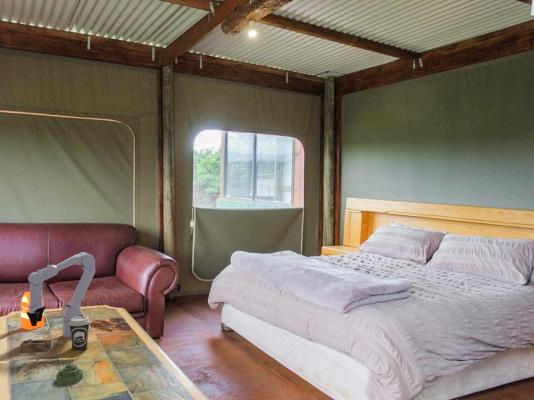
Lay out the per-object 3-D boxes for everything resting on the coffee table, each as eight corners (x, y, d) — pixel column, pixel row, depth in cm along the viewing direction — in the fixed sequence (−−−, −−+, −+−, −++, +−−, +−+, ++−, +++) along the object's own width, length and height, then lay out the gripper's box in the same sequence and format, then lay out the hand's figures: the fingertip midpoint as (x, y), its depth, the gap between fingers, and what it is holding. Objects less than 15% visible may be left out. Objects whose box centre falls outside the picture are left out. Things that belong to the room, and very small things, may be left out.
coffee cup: (94, 347, 229) (94, 317, 228) (79, 354, 220) (78, 322, 219) (80, 344, 233) (79, 314, 232) (64, 351, 224) (64, 320, 224)
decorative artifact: (56, 376, 196) (56, 386, 186) (56, 360, 195) (56, 368, 186) (82, 372, 200) (83, 382, 190) (82, 356, 199) (83, 365, 190)
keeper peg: (32, 349, 223) (32, 338, 223) (31, 351, 221) (31, 339, 221) (28, 350, 223) (28, 338, 222) (27, 351, 221) (27, 339, 221)
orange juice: (44, 325, 263) (43, 290, 262) (28, 329, 256) (28, 293, 255) (36, 323, 267) (35, 288, 266) (20, 327, 260) (20, 291, 259)
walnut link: (51, 347, 226) (51, 339, 226) (47, 351, 221) (47, 343, 220) (24, 348, 224) (24, 340, 224) (20, 353, 219) (20, 344, 218)
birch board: (58, 341, 237) (58, 339, 237) (46, 356, 217) (46, 354, 217) (31, 343, 235) (31, 341, 235) (16, 357, 215) (16, 355, 215)
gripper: (32, 293, 240) (32, 319, 241) (22, 300, 226) (22, 328, 226) (47, 293, 241) (47, 319, 242) (38, 300, 227) (38, 327, 228)
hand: (36, 323), depth 234 cm, fingers open, 7 cm apart
